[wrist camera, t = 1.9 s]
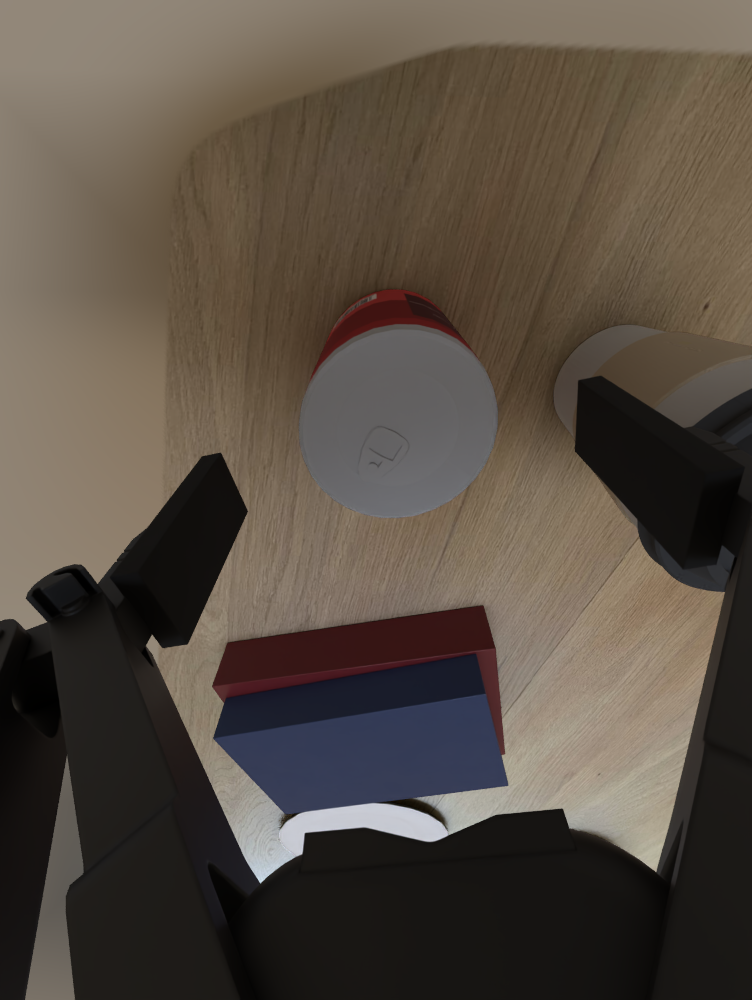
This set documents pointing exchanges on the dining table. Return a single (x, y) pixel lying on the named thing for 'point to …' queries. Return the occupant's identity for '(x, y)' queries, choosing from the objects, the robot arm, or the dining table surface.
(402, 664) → the book stack
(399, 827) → the plate
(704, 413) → the coffee cup
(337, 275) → the dining table surface
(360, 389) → the canned food
